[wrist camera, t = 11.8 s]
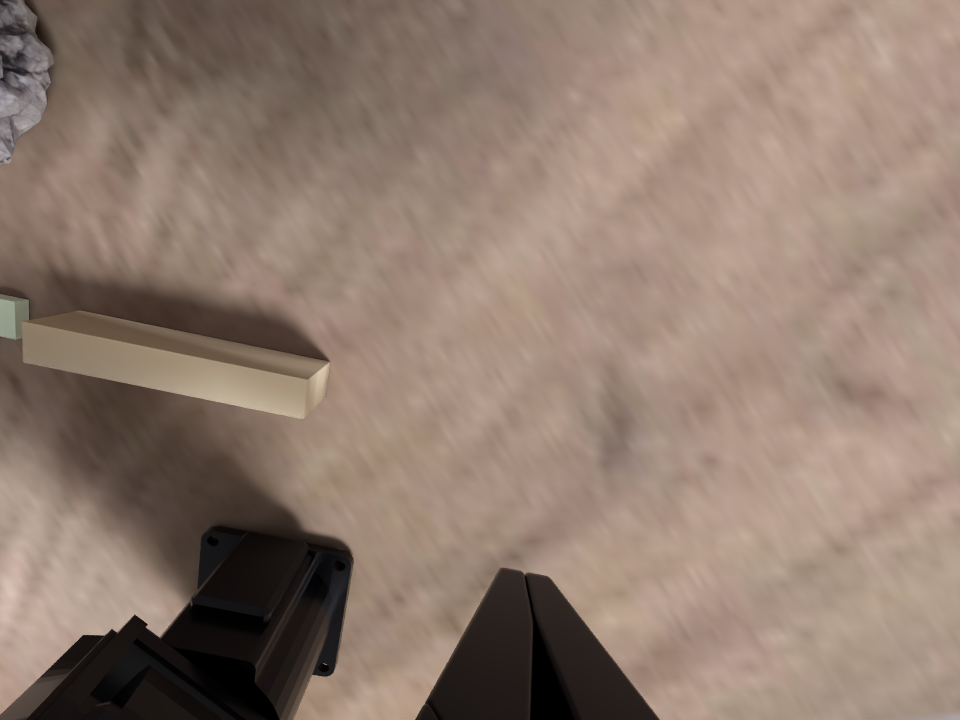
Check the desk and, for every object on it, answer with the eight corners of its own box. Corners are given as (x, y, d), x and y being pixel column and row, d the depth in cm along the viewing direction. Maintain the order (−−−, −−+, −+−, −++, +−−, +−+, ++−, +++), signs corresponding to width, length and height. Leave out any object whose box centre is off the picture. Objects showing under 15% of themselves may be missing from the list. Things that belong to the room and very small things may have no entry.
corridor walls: (325, 397, 20) (302, 419, 18) (79, 346, 20) (22, 362, 18) (407, -209, 16) (391, -290, 13) (82, -285, 15) (4, -382, 13)
